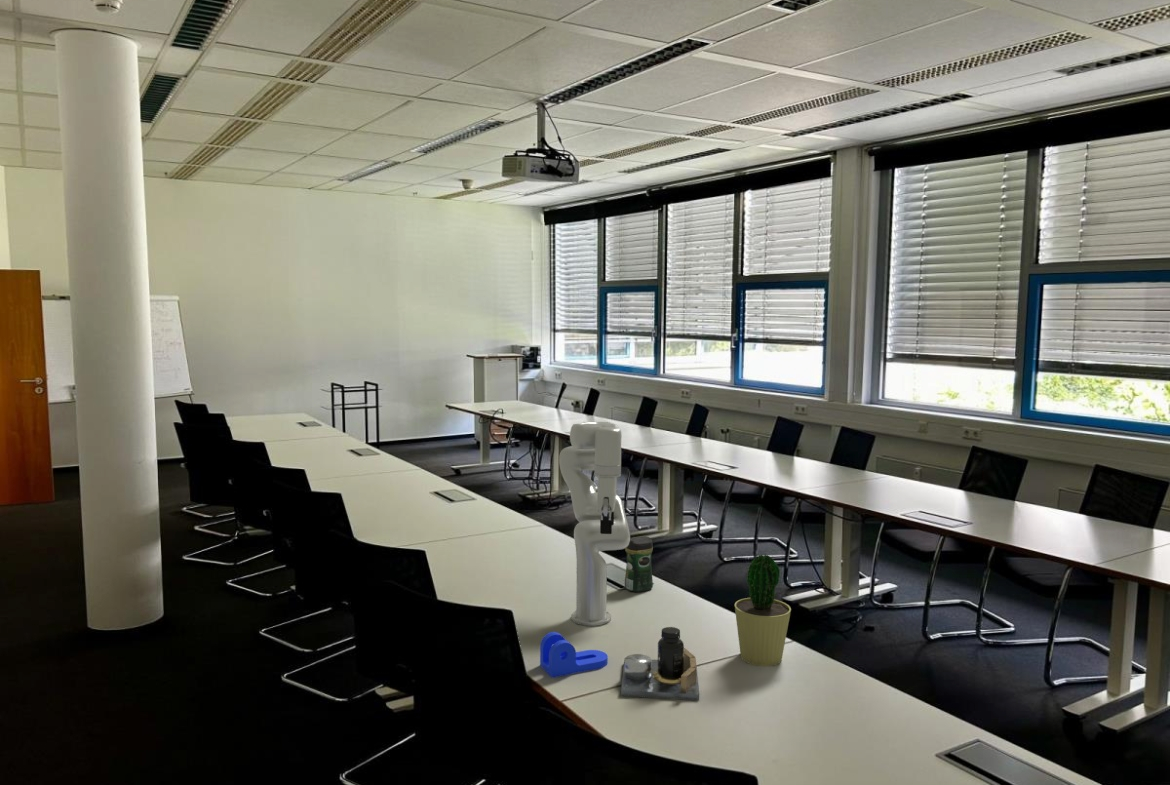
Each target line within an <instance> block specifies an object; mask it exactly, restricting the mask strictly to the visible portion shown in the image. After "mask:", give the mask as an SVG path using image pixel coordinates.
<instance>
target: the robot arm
mask: <svg viewBox="0 0 1170 785" xmlns="http://www.w3.org/2000/svg"><path fill="white" fill-rule="evenodd" d="M622 435H623V434H622V430H621V428H620V427H619V426H618V425H617V424H616V423H613V422H610V421H583V422H579V423H574V424H572V426H571V427H570V431H569V441H570V444H571V445H570V446H567V447H564V448H562V449H561V450H560V453H559V457H558V462H559V469H560V472H561V476H562V478H563V480H564V482H565V484H566V485H567V487H568V489H569V492H570V497H571V503H572V504H571V505H572V509H573V514H574V516H575V519H576V520H577V521H578V523H577V524H576V525H575V526H574V529H573V539H574V547H575V555H576V556H575V558H576V594H575V595H576V598H575V599H576V602H575V603H576V604H575V605H576V608H575V609H576V610H575V611H573V612H572V613H571V614H570V615H571V618H570V619H571V621H572V622H573V623H576V624H578V625H582V626H587V627H588V626H590V627H594V626H595V627H596V626H597V627H598V626H602V625H605V624H608V623H610V621H612V614H611V613H610V612H609V611H607V584H608V581H607V579H608V576H607V574H608V571H607V570H608V566H607V562H606V560H605V558H604V557H603V556H602V555H601V554H600V552H602V551H603V552H604V551H617V550H618V551H619V550H625V548H626V547H627V546H628V545H629V542H630V538H631V532H630V527H629V522H628V520H627V516H626V510H625V507H624V504H623V501H622V498H621V496H619V495H618V494H617V486H618V485H617V480H618V478H619V477H621V475H622ZM584 471H589V472H590V471H594V476H595V477H597V487H596V484H595V482H594V481H593V480H592V479H591V478H590V477H589V476H588V475H587V474H585V473H584Z"/></svg>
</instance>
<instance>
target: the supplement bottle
mask: <svg viewBox="0 0 1170 785" xmlns="http://www.w3.org/2000/svg"><path fill="white" fill-rule="evenodd" d="M660 636H661V638H660V639H659V640H658V641H657V660H658V674H659V676H660V677H662V678H665V679H678V678H681V675H682V674H683V673H684V648H685V645H684V641H683V640H682V639H681V630H680V629H679V628H677V627H674V626H667V627H662V628H661V635H660Z"/></svg>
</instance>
